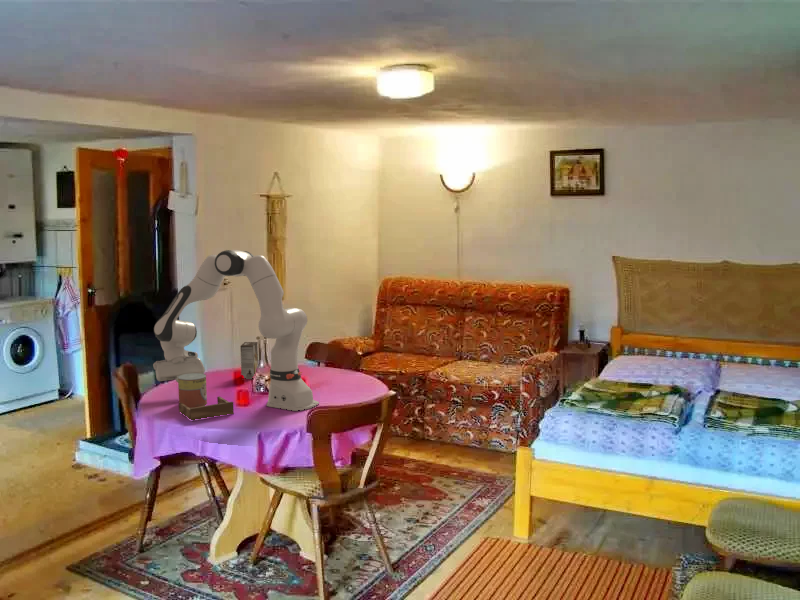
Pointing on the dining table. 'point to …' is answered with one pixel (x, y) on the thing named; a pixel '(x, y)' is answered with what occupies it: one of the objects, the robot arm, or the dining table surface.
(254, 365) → the coffee box
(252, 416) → the dining table surface
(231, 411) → the box
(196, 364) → the robot arm
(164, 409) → the dining table surface
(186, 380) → the canned food
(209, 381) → the dining table surface
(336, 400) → the dining table surface
